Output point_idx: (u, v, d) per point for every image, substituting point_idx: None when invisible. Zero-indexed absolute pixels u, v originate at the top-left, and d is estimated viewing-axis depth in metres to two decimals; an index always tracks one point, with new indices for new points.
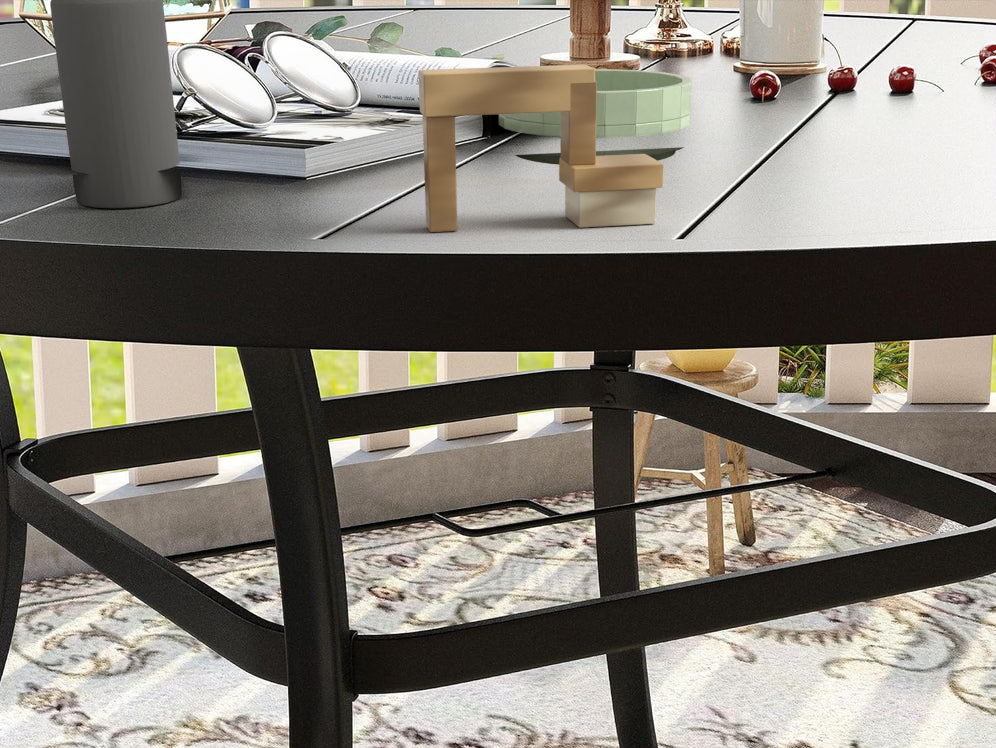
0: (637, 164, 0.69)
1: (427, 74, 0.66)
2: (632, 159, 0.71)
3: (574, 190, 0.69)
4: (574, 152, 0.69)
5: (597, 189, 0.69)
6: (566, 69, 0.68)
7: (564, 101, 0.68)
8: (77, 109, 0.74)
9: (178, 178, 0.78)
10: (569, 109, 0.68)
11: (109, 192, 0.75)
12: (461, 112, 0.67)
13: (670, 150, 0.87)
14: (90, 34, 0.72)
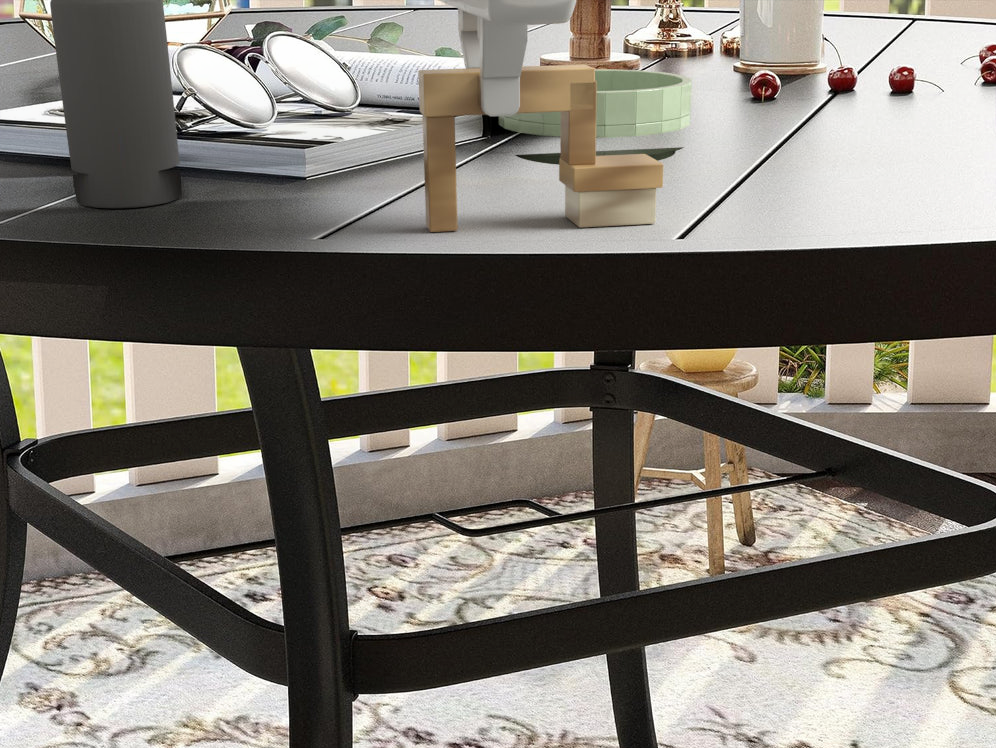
0: (637, 164, 0.69)
1: (427, 74, 0.66)
2: (632, 159, 0.71)
3: (574, 190, 0.69)
4: (574, 152, 0.69)
5: (597, 189, 0.69)
6: (566, 69, 0.68)
7: (564, 101, 0.68)
8: (77, 109, 0.74)
9: (178, 178, 0.78)
10: (569, 109, 0.68)
11: (109, 192, 0.75)
12: (461, 112, 0.67)
13: (670, 150, 0.87)
14: (90, 34, 0.72)
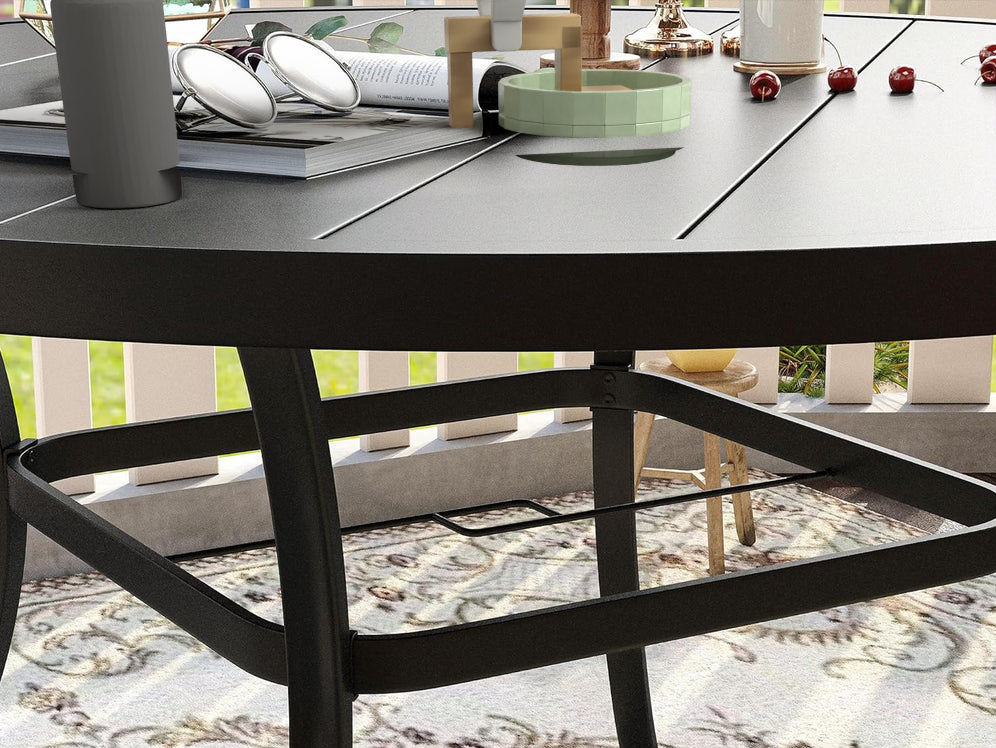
0: None
1: (451, 19, 0.86)
2: (610, 88, 0.90)
3: None
4: (565, 81, 0.89)
5: None
6: (558, 16, 0.87)
7: (557, 41, 0.88)
8: (77, 109, 0.74)
9: (178, 178, 0.78)
10: (561, 47, 0.88)
11: (109, 192, 0.75)
12: (477, 49, 0.87)
13: (670, 150, 0.87)
14: (90, 34, 0.72)
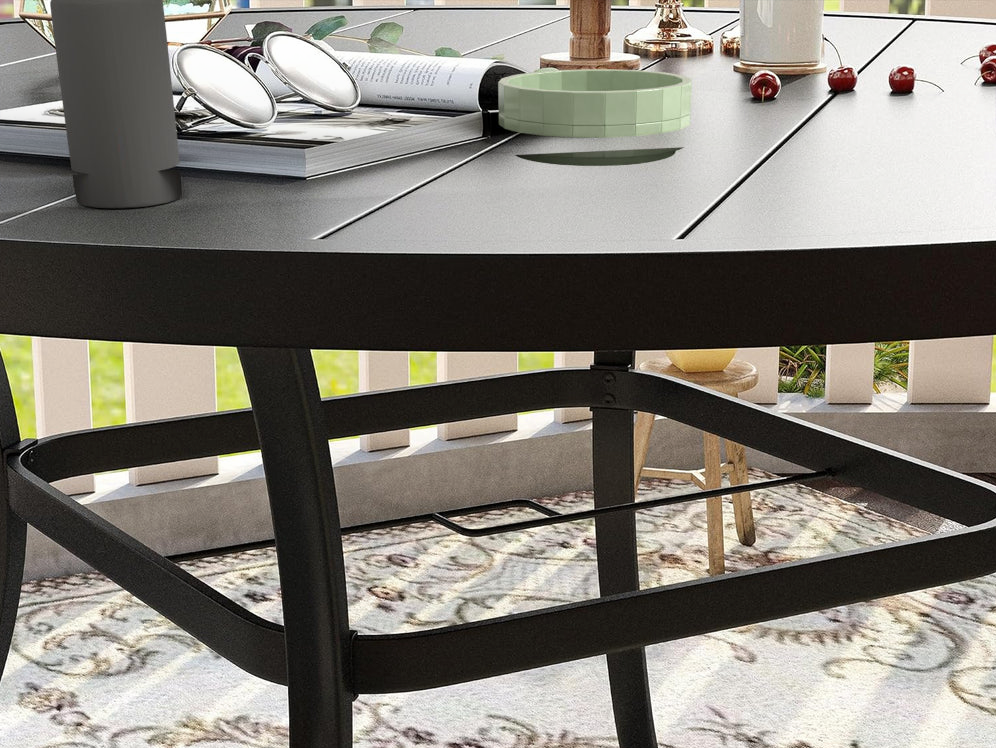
0: None
1: None
2: None
3: None
4: None
5: None
6: None
7: None
8: (77, 109, 0.74)
9: (178, 178, 0.78)
10: None
11: (109, 192, 0.75)
12: None
13: (670, 150, 0.87)
14: (90, 34, 0.72)
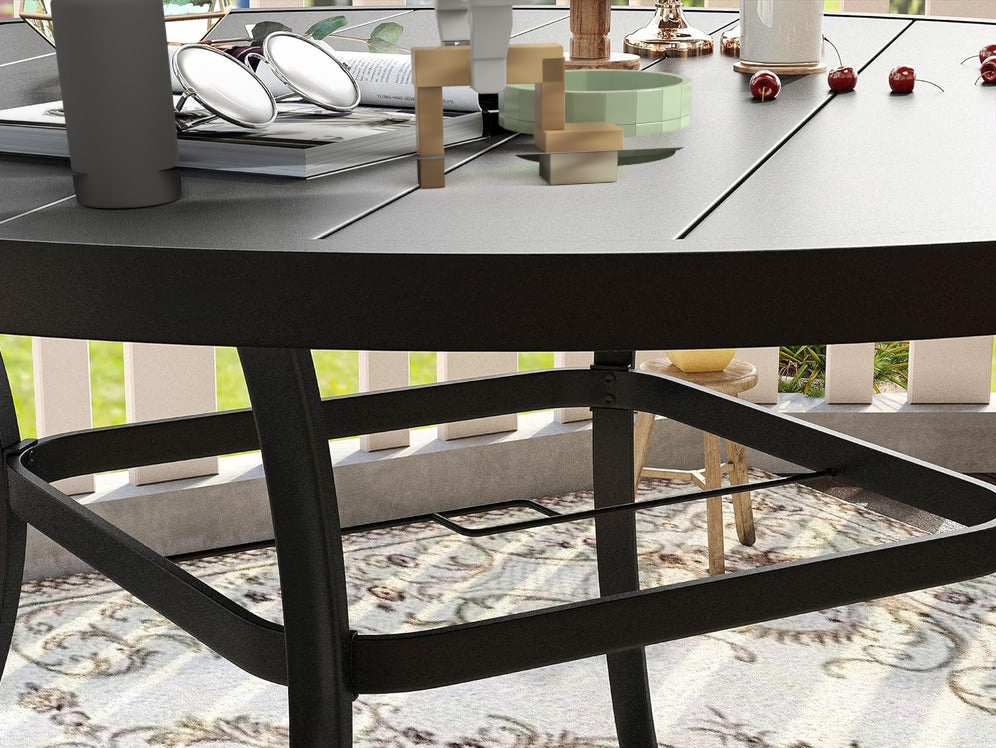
0: (600, 129, 0.80)
1: (418, 50, 0.77)
2: (597, 125, 0.81)
3: (546, 152, 0.80)
4: (546, 118, 0.80)
5: (566, 151, 0.80)
6: (538, 46, 0.78)
7: (537, 74, 0.79)
8: (77, 109, 0.74)
9: (178, 178, 0.78)
10: (541, 81, 0.79)
11: (109, 192, 0.75)
12: (447, 83, 0.78)
13: (670, 150, 0.87)
14: (90, 34, 0.72)
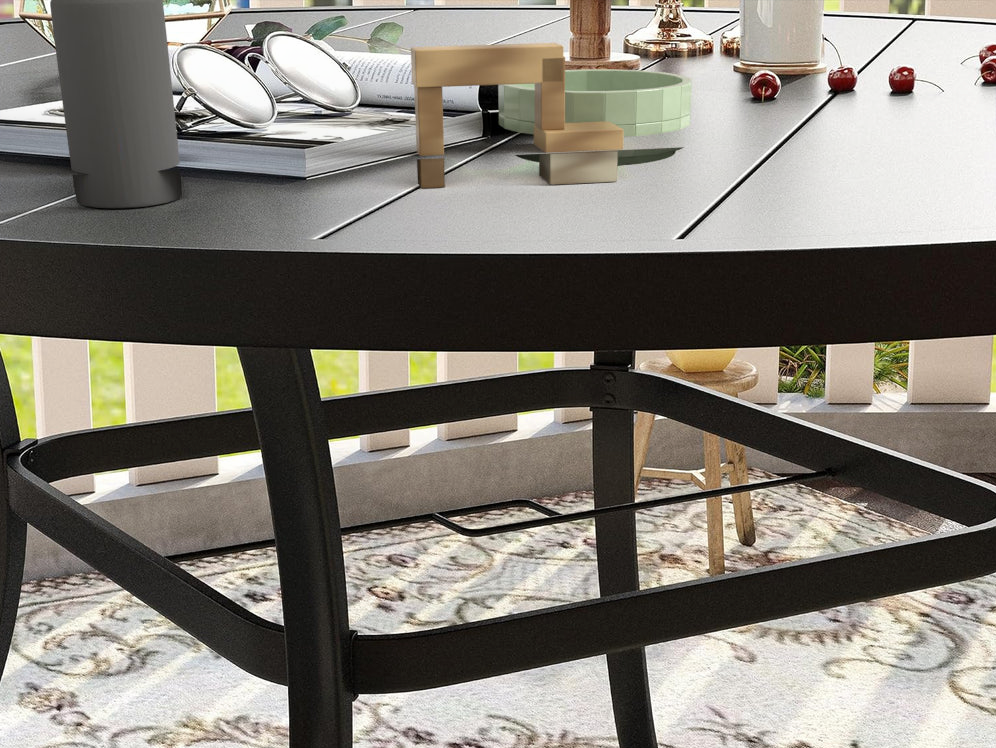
0: (600, 129, 0.80)
1: (418, 50, 0.77)
2: (597, 125, 0.81)
3: (546, 152, 0.80)
4: (546, 118, 0.80)
5: (566, 151, 0.80)
6: (538, 46, 0.78)
7: (537, 74, 0.79)
8: (77, 109, 0.74)
9: (178, 178, 0.78)
10: (541, 81, 0.79)
11: (109, 192, 0.75)
12: (447, 83, 0.78)
13: (670, 150, 0.87)
14: (90, 34, 0.72)
